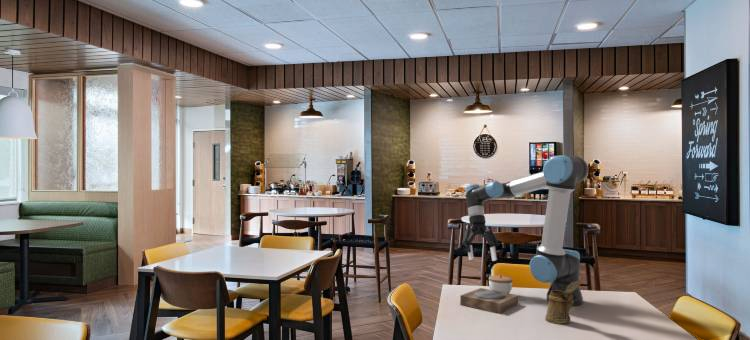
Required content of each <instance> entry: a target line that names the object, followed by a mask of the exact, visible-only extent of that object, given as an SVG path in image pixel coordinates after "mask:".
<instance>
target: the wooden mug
mask: <svg viewBox="0 0 750 340" xmlns="http://www.w3.org/2000/svg"><path fill="white" fill-rule="evenodd" d="M580 283H581V281H580V279H579V280H578V279H577V280H575V281H573V282H572V283H570V284H569V285H568V286H567V287H566V289H565V291H566V292H564V291H559V290H551V292H550V295H549V301H548V303H547V304H548V305H547V310H546V315H545V316H544V317H545V318H544V319H545V321H547V322H548V323H552V324H556V325H568V324H570V322H571V317H570V311H571V309H572V308H573V306H574V305H573V296H572V292H573V291H575V290H576V289H577V288H578V286H579V287H580V285H581V284H580ZM568 301H569V304H568Z"/></svg>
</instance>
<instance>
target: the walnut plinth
mask: <svg viewBox="0 0 750 340" xmlns="http://www.w3.org/2000/svg"><path fill="white" fill-rule="evenodd" d="M459 301H460V302H459V303H460V306H464V307H469V308H473V309H478V310H483V311H487V312H492V313H495V314H502V313H504V312H505V311H508V310H510V309H511V308H513V307H516V306H518V305H519V295H518V294H514V293H504V292H499V291H494V290H490V288H489V289H487V288H482V287H480V288H476V289H474V290H471V291H469V292H466V293H464V294H461V295H460V300H459Z"/></svg>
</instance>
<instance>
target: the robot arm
mask: <svg viewBox="0 0 750 340" xmlns="http://www.w3.org/2000/svg"><path fill="white" fill-rule="evenodd" d="M588 174H589V165H588V163H587V162H586V161H585V160H584V159H583V158H582V157H580V156H576V155H575V156H574V155H561V154H559V155H554V156H552V157H550V158H548V159H547V160H546V161H545V163H544V165H543V168H542V171H539V172H537V173H533V174H530V175H527V176H523V177H521V178H520V177H519V178H517V179H513V180H511V181H507V182H500V181H498V180H493V181H490V182H488V183H485V184H484V185H481V186H480V185H479V184H470V185H466V187H465V189H464V191H465V199H466V206H467V212H468V217H469V218H468V221H469V224H467V225H465V226H464V229H465V230H464V234H463V238H462V241H461V245H463V246H464V247H465V249H466V253H467V256H468V261H471V260H474V257H475V256H474V250H473V245H472V242H473V241H474V238H475V236H479V237H482V238H484V240H485V241H486V242H487V244H489V249H490V256H491V261H492V262H495V261H497V260H498V257H497V252H498V251H497V246H500V243H499V241H498V239H497V237H496V235H495V234H494V232H493V230H492V227H491V226H486V223H487V222H486V217H485V210H484V209H485V208H484V202H487V201H490V200H500V199H501V200H502V199H509V200H510V199H513V198H515V197H516V196H521V195H524V194H528V193H530V192H531V193H532V192H534V191H539V190H542V189H546V188H547V189H548V195H547V203H546V209H545V217H544V223H543V231H542V236H541V237H542V238H541V244H540V245H539V246H538V247H536V254H535V255H534V256H533V257H532V258H531V259H530V261H529V271H530V273H531V275H532V276H533V278H534V279H535V280H536V281H538V282H539V283H550V285H549V287H548V291H547V293H546V301H548V302H549V295H550V292H551V290H559V291H564V292H566V291H565V289H566V287H567V286H568V285H569V284H570V283H572V282H573V281H575V280H577V279H578V280H579V281H580V267H581V266H580V265H581V257H580V256H581V254H580V252H579V251H577V250H573V249H572V250H571V249H566V248H563V245H564V239H565V232H566V226H567V218H568V212H569V205H570V198H571V193H572V192H574V191H575V190H576V186H577V183H578V184H579V183H580V182H582V181H585V179H586V177H588ZM582 294H583V293H582V291H581V287H580V285H579V286H578V288H577V289H576V290H575V291H573V292H572V296H573V306H581V305H583V303H584V297H583V295H582ZM568 304H569V301H568Z"/></svg>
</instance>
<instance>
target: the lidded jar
mask: <svg viewBox="0 0 750 340" xmlns="http://www.w3.org/2000/svg"><path fill="white" fill-rule="evenodd" d="M513 281H514V280H513V278H512V277H510V276H505V275H503V274H501V273H500V274H499V275H489V277H488V286H489V290H494V291H499V292H504V293H509V294H511V291H512V288H513Z"/></svg>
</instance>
